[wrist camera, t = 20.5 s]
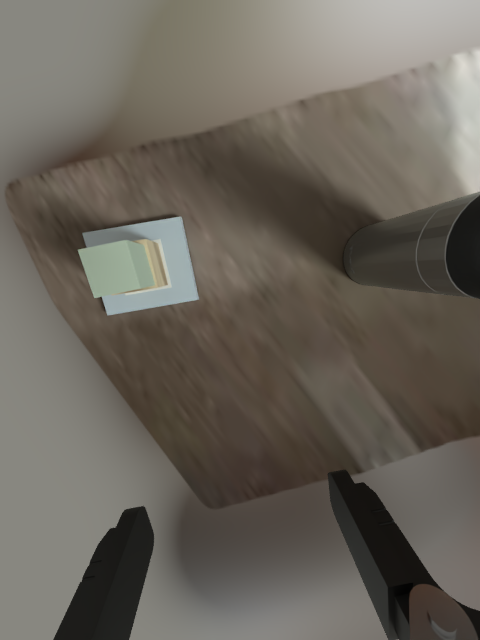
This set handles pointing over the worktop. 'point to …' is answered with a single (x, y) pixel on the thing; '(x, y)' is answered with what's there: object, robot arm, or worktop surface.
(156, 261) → the maple block
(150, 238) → the board
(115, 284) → the sage block
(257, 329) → the worktop surface
